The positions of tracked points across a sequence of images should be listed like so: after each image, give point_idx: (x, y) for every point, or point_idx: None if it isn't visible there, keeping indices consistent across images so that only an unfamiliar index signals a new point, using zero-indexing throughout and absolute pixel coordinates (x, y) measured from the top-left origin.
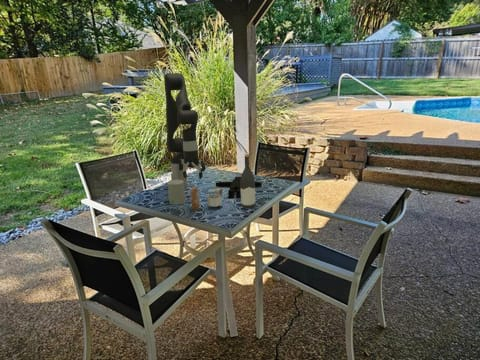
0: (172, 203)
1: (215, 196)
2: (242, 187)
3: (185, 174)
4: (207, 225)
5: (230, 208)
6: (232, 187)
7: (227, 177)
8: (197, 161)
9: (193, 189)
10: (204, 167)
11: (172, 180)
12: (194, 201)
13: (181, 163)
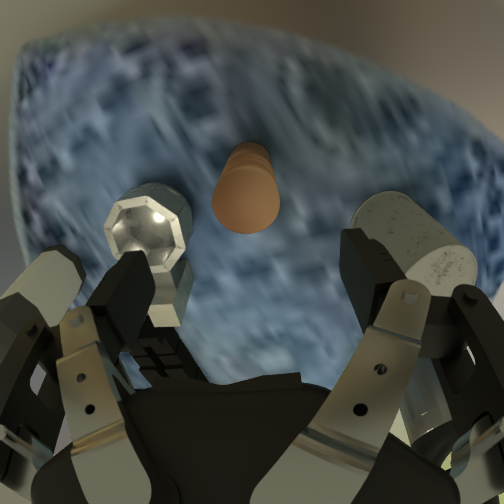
0: (399, 193)
1: (157, 259)
2: (20, 302)
3: (357, 266)
4: (102, 27)
5: (95, 220)
6: (172, 369)
7: None
8: (35, 491)
9: (243, 189)
10: (45, 388)
11: None
12: (239, 152)
13: (491, 416)
